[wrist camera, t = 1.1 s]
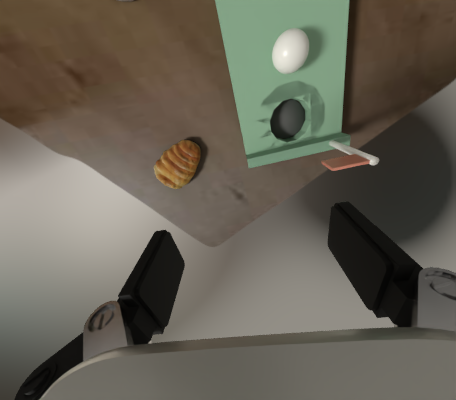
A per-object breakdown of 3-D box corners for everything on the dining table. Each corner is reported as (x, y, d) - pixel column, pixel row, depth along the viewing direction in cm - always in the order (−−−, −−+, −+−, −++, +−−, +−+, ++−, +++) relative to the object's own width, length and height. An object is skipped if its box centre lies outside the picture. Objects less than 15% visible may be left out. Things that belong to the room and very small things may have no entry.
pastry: (180, 128, 30) (174, 132, 27) (211, 154, 32) (208, 160, 29) (154, 167, 34) (145, 174, 31) (183, 188, 36) (178, 197, 33)
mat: (213, -9, 22) (207, -36, 17) (340, -59, 20) (371, -105, 15) (247, 159, 32) (249, 168, 28) (332, 139, 30) (349, 145, 26)
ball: (267, 41, 22) (273, 29, 18) (301, 30, 21) (314, 15, 18) (271, 80, 24) (277, 76, 20) (302, 70, 23) (315, 65, 20)
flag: (293, 140, 30) (333, 166, 18) (320, 133, 30) (379, 156, 17) (294, 144, 31) (332, 173, 18) (320, 138, 30) (378, 164, 18)
